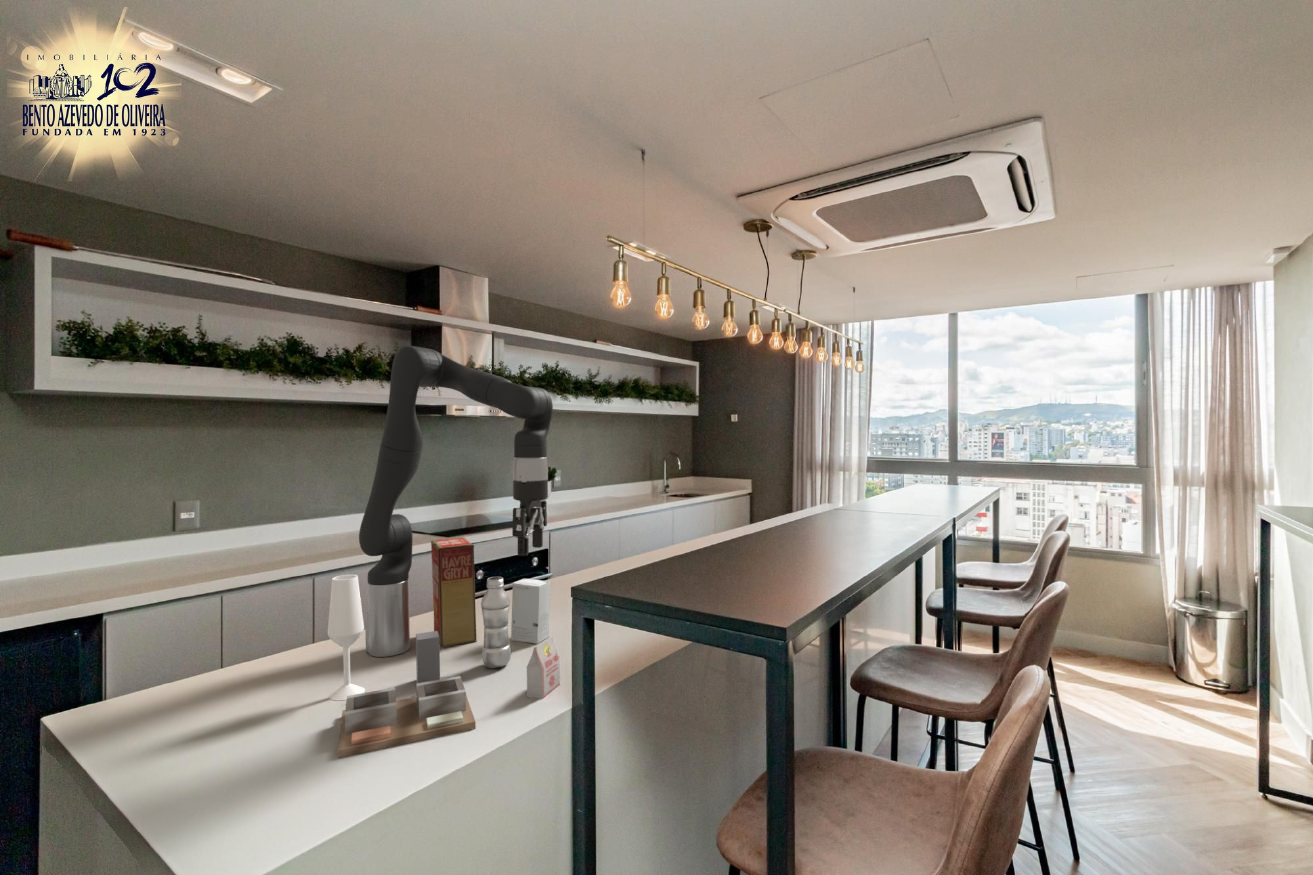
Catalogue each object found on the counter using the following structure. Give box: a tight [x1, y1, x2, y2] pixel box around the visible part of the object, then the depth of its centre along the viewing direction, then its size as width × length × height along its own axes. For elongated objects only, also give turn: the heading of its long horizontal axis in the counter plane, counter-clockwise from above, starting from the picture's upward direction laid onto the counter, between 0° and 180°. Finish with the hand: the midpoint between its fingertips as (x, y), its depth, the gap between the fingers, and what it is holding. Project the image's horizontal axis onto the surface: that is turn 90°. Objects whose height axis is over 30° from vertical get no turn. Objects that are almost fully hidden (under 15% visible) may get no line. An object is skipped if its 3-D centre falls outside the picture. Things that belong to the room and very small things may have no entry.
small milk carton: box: [526, 636, 561, 699], centre depth 124 cm, size 4×7×10 cm, turn 160°
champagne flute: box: [327, 574, 366, 701], centre depth 124 cm, size 7×7×24 cm
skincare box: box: [510, 578, 551, 645], centre depth 155 cm, size 8×6×15 cm
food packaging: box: [430, 536, 477, 649], centre depth 157 cm, size 13×9×25 cm
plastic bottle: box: [480, 576, 512, 669], centre depth 138 cm, size 6×7×20 cm
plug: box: [415, 630, 441, 684], centre depth 130 cm, size 4×4×10 cm
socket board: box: [337, 675, 476, 759], centre depth 111 cm, size 22×16×5 cm
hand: (530, 551), depth 133 cm, fingers open, 8 cm apart
